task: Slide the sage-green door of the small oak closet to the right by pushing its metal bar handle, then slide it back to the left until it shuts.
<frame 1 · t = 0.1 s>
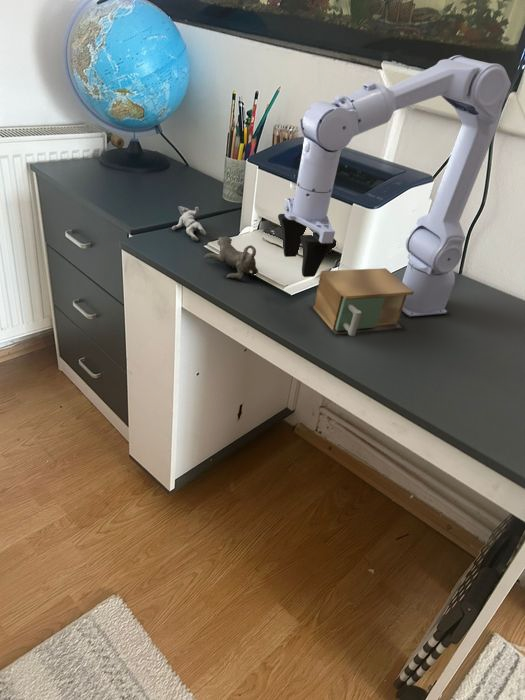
hand: (298, 265, 90), 10 cm above the table, tool pointing down, fingers open, 7 cm apart
disk drive: (298, 246, 124), on the table
closet: (354, 316, 99), on the table
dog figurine: (231, 272, 107), on the table
soldier figure: (189, 232, 122), on the table
closet door: (364, 317, 91), point 4 cm above the table, slide at 0.0 cm
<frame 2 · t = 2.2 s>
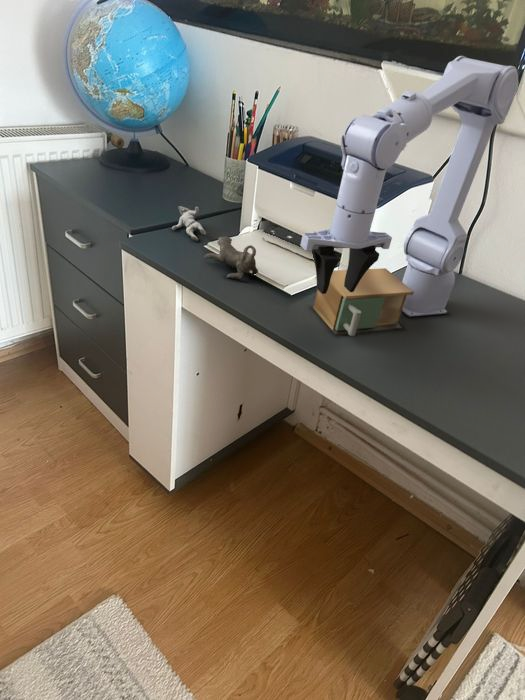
hand: (335, 290, 83), 10 cm above the table, tool pointing down, fingers open, 4 cm apart
nothing on the table moved.
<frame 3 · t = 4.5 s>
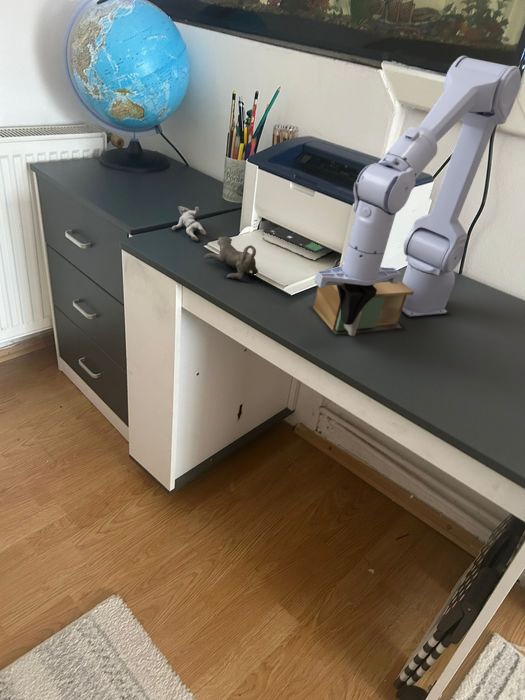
hand: (346, 321, 88), 4 cm above the table, tool pointing down, fingers closed
closet door: (364, 317, 91), point 4 cm above the table, slide at 0.1 cm, touching gripper
everything else where it was.
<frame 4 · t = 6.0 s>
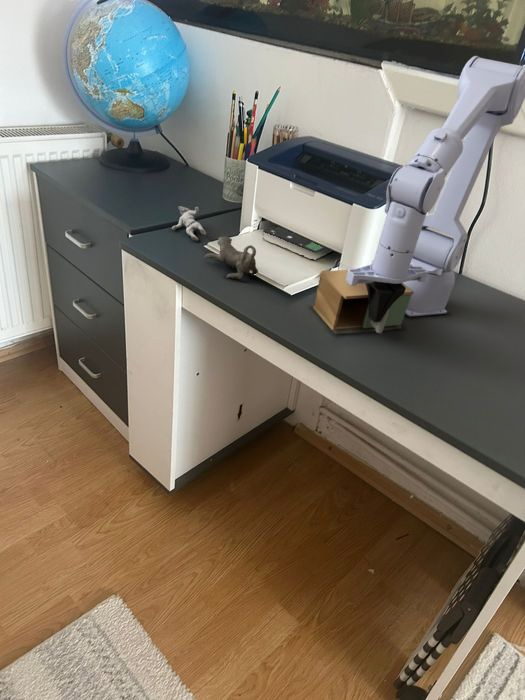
hand: (374, 319, 90), 4 cm above the table, tool pointing down, fingers closed
closet door: (391, 315, 93), point 4 cm above the table, slide at 5.7 cm, touching gripper
everything else where it was.
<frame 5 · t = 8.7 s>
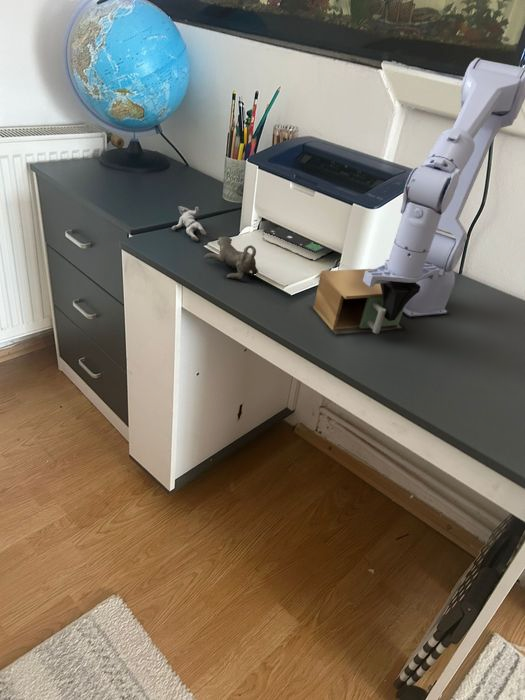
hand: (388, 317, 91), 4 cm above the table, tool pointing down, fingers closed
closet door: (388, 315, 93), point 4 cm above the table, slide at 5.0 cm, touching gripper
everything else where it was.
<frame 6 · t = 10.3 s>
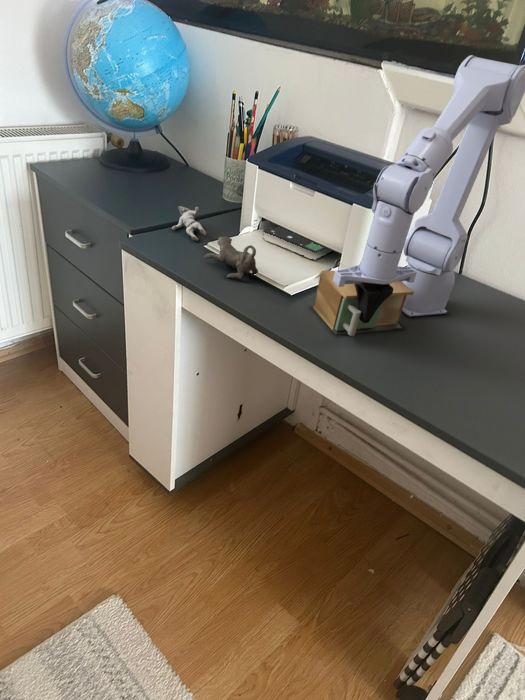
hand: (363, 320, 89), 4 cm above the table, tool pointing down, fingers closed
closet door: (364, 317, 91), point 4 cm above the table, slide at -0.1 cm, touching gripper
everything else where it was.
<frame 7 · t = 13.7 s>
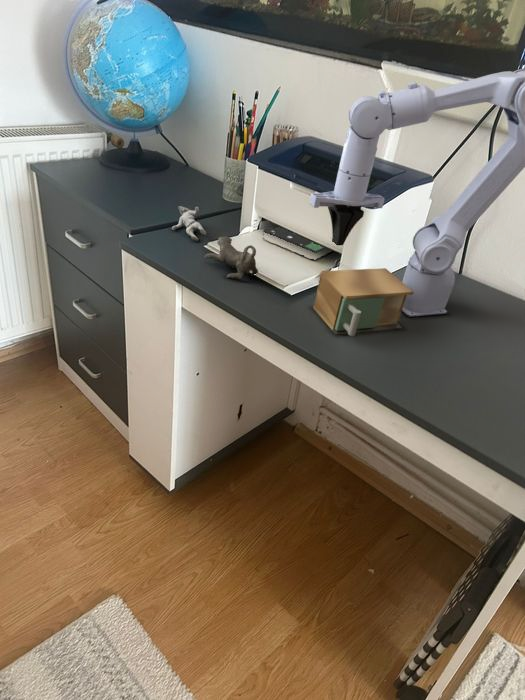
hand: (337, 243, 100), 10 cm above the table, tool pointing down, fingers closed
closet door: (364, 317, 91), point 4 cm above the table, slide at 0.0 cm
everything else where it was.
at the end: closet door pulled out 5.7 cm at the most during the clip, back to where it started at the end; closet door slide at 0.0 cm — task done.
